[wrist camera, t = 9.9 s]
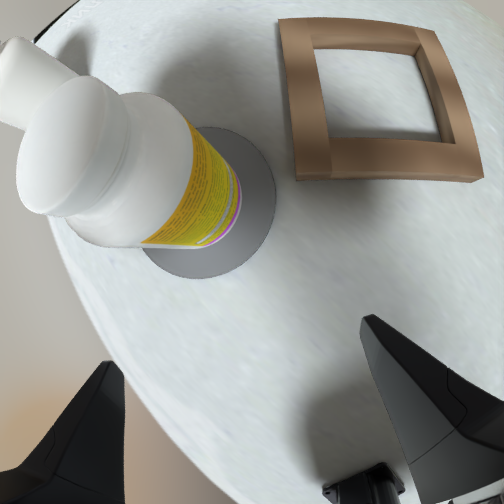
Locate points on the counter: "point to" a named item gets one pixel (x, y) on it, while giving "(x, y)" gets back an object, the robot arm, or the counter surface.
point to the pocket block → (375, 149)
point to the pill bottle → (27, 80)
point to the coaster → (247, 224)
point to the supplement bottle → (125, 170)
